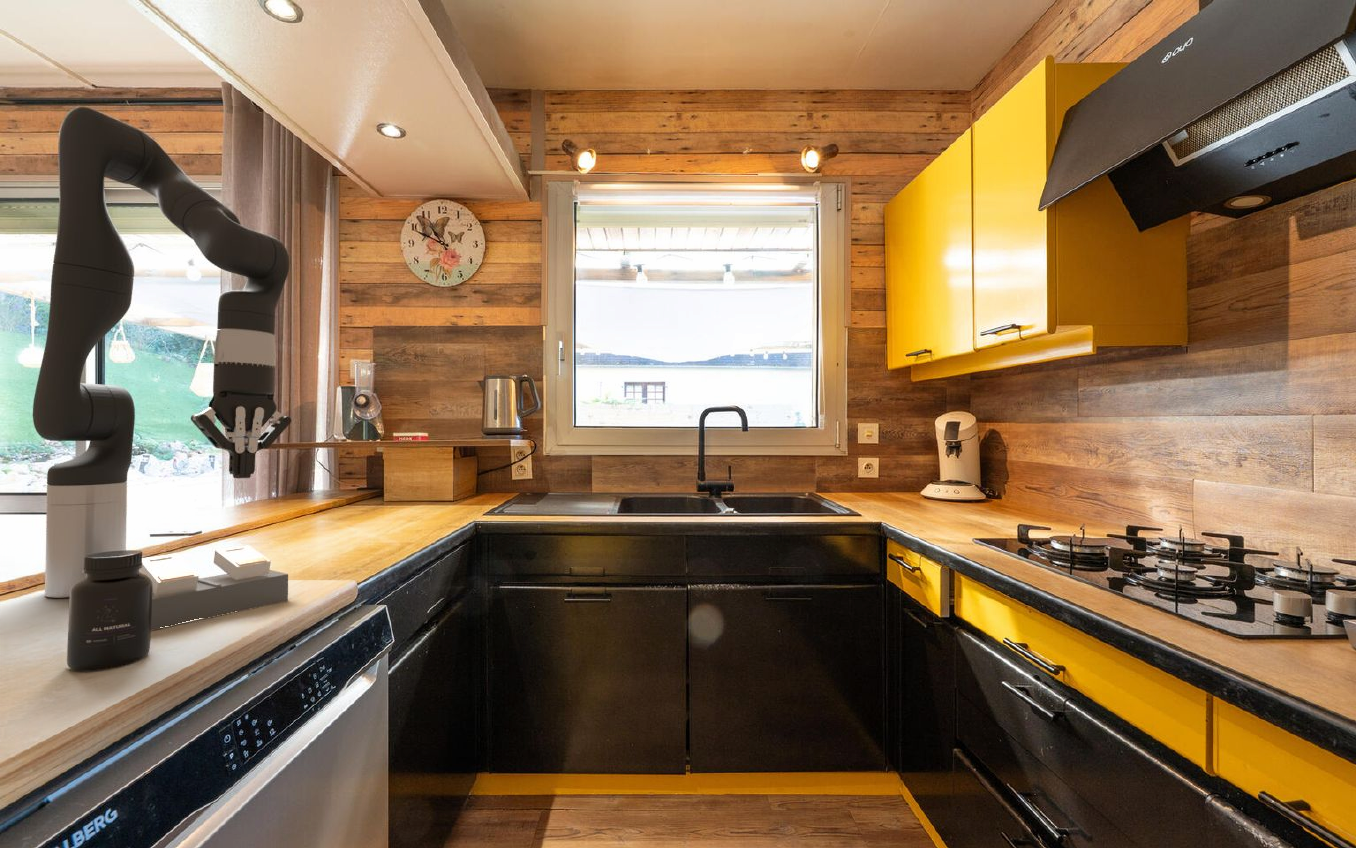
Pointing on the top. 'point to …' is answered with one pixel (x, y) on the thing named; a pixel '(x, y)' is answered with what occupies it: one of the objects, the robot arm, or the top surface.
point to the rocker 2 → (242, 562)
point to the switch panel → (218, 598)
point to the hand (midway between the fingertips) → (241, 477)
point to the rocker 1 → (169, 574)
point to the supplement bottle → (110, 612)
